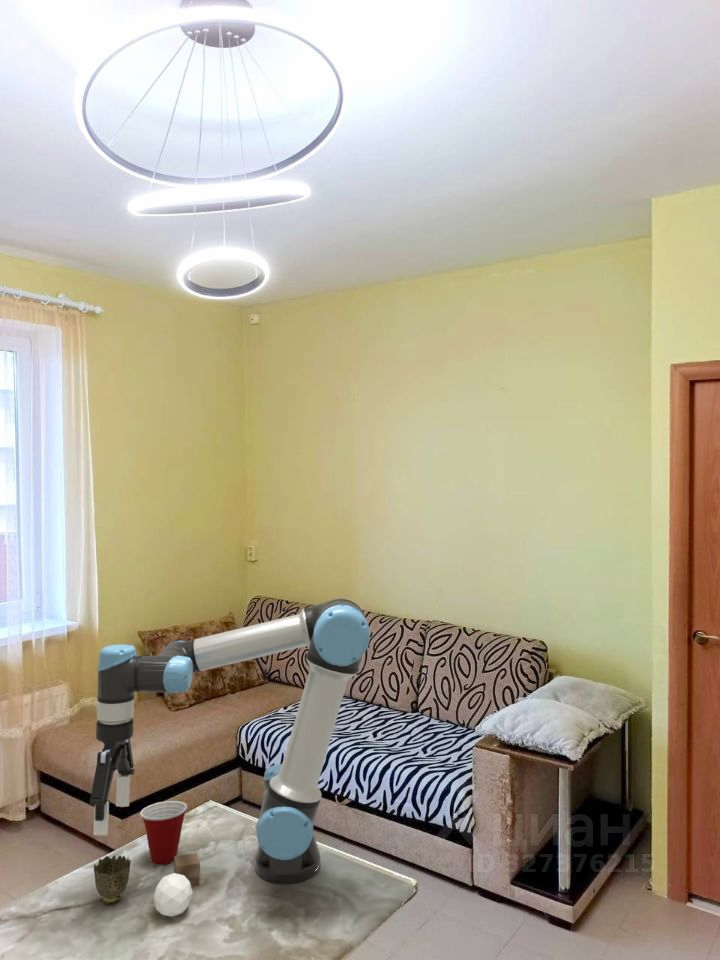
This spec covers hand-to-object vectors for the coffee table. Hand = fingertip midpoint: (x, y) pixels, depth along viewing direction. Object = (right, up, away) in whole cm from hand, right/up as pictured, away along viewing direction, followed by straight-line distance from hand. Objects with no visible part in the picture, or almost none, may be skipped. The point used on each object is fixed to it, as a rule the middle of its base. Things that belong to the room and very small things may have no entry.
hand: (112, 819), depth 152 cm
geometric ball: (+14, -18, -4) cm, 23 cm away
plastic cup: (+6, -18, +18) cm, 26 cm away
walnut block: (+14, -18, +8) cm, 24 cm away
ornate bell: (0, -17, 0) cm, 17 cm away
